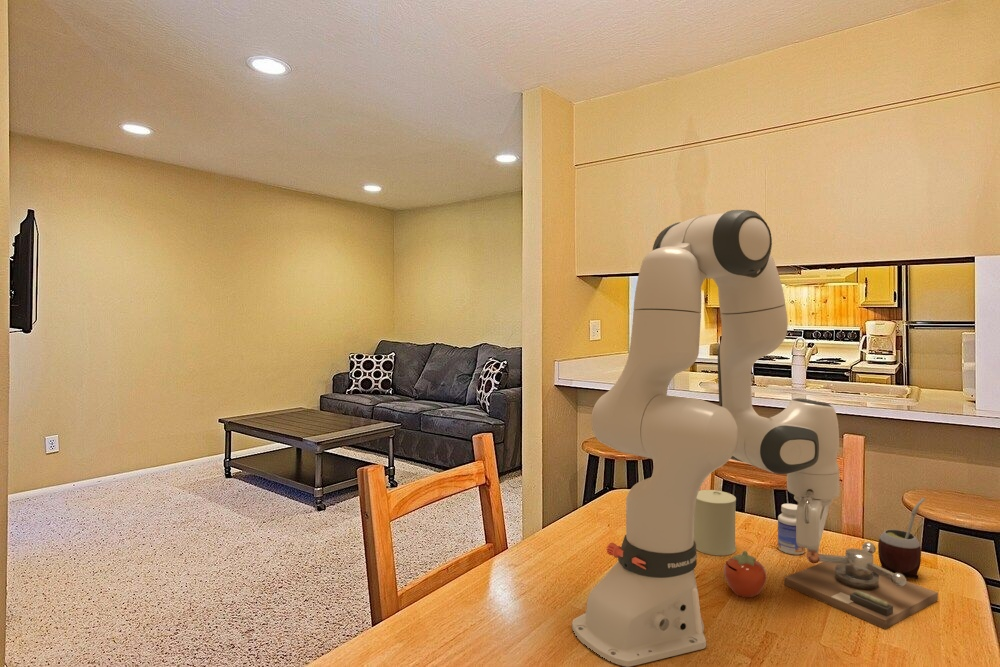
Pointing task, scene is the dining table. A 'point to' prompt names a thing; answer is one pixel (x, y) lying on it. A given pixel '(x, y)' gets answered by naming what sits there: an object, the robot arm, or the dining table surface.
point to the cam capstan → (858, 568)
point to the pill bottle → (788, 530)
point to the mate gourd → (901, 549)
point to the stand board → (862, 595)
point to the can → (715, 522)
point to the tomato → (745, 575)
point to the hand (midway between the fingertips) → (813, 554)
